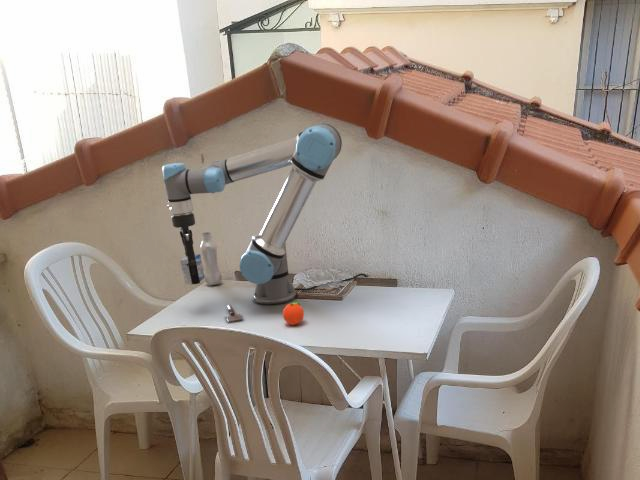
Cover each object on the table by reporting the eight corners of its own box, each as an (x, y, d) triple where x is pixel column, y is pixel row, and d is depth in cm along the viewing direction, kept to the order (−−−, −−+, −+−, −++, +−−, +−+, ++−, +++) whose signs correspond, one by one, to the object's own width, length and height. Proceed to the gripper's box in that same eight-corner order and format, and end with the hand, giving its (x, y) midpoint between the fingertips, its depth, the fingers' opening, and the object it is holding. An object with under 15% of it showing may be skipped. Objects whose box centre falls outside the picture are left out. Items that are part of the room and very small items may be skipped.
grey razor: (222, 309, 248) (222, 305, 247) (236, 307, 249) (235, 303, 248) (228, 323, 234) (227, 318, 233) (242, 320, 235) (241, 316, 234)
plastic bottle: (204, 287, 275) (195, 235, 265) (209, 282, 281) (201, 231, 271) (219, 286, 274) (211, 235, 264) (224, 281, 279) (216, 231, 270)
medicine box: (196, 284, 238) (192, 259, 234) (184, 284, 239) (179, 259, 235) (205, 277, 245) (200, 253, 241) (193, 278, 246) (188, 253, 242)
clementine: (293, 318, 233) (291, 298, 229) (310, 320, 230) (308, 299, 226) (279, 326, 227) (277, 305, 224) (297, 328, 224) (295, 307, 220)
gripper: (169, 209, 239) (182, 274, 250) (172, 220, 221) (186, 289, 232) (191, 206, 241) (202, 271, 252) (196, 217, 222) (208, 286, 233)
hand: (194, 280), depth 242 cm, fingers closed on medicine box, 9 cm apart
